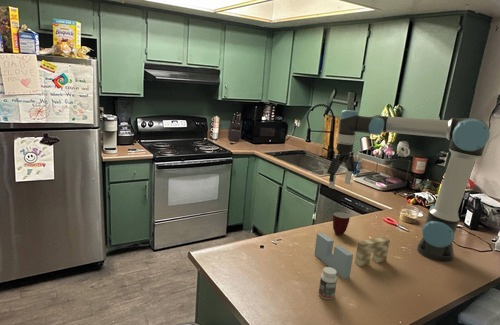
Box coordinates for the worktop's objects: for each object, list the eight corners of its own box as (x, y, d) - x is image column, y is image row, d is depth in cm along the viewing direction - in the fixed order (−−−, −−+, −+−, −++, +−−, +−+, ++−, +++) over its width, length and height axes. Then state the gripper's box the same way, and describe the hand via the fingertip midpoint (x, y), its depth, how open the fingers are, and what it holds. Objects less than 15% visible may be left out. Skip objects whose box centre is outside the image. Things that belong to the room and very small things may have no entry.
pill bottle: (316, 290, 127) (319, 265, 125) (331, 290, 128) (335, 266, 126) (320, 299, 122) (324, 274, 119) (336, 300, 122) (340, 275, 120)
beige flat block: (380, 257, 155) (384, 237, 153) (386, 261, 153) (389, 240, 150) (354, 262, 149) (358, 241, 147) (359, 266, 147) (363, 244, 144)
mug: (349, 240, 171) (352, 221, 168) (332, 238, 171) (335, 219, 169) (345, 231, 181) (348, 213, 179) (329, 229, 182) (332, 211, 179)
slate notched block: (349, 277, 137) (353, 254, 135) (343, 278, 136) (347, 255, 134) (319, 253, 155) (322, 232, 153) (314, 254, 154) (317, 233, 151)
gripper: (352, 140, 176) (347, 180, 181) (322, 143, 159) (317, 187, 164) (366, 142, 171) (359, 183, 176) (336, 146, 154) (330, 191, 159)
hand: (339, 185), depth 170 cm, fingers open, 13 cm apart
